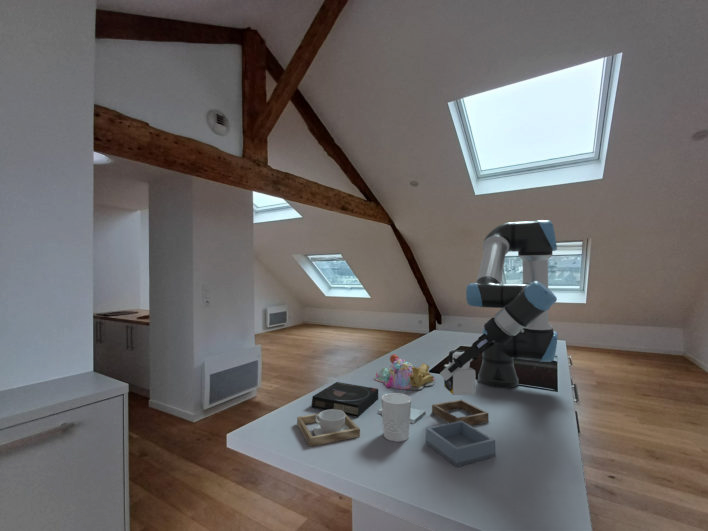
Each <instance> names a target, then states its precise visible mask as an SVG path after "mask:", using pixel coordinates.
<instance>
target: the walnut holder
mask: <svg viewBox="0 0 708 531" xmlns="http://www.w3.org/2000/svg"><path fill="white" fill-rule="evenodd" d="M460 409H461V410H463V411H465V412H467V413H469V414H470V415H465V416H461V417H457V416H455V415H454V414H452V413H450V411H456V410H460ZM431 413H432V414H434V415H435V416H437V417H438V418H440V419H441V420H443V421H445V422H446V423H452V422H457V421H461V420H462V421H464V422H465V423H467V424H469V425H470V426H475V425H479V424H484V423H488V422H489V412H487V411H485V410H483V409H482V408H479V407H477V406H475V405H473V404H471V403H469V402H467V401H465V400H463V399H456V400H452V401H445V402H439V403H433V404H432V405H431Z"/></svg>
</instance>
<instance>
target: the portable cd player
mask: <svg viewBox="0 0 708 531" xmlns="http://www.w3.org/2000/svg"><path fill="white" fill-rule="evenodd" d="M378 400H379V388H374V387H369V386H363V385H358V384H357V385H356V384H351V383H345V382H338V381H336V382H334V383H332V384H331V385H330V386H326V388H324V389H323V390H320V391H319V392H317V393H315V394H314V395H313V396H312V398H311V408H312V409H317V410H320V411H325V410H330V409H336V410H342V411H343V412H344V413H345V414H346V415H347V416H348V417H354V418H359V417H360V416H361V415H363V414H364V413H365V412H366V411H367V410H368V409H370V407H372V406H373V405H374V404H375V403H376V402H377V401H378Z"/></svg>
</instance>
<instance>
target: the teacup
mask: <svg viewBox="0 0 708 531" xmlns="http://www.w3.org/2000/svg"><path fill="white" fill-rule="evenodd" d="M318 414H319V415H317V416H316V417H315V421H316V422H315V423H316V424H317V425H316V426H315V427H314V428H313V433H314V436H317V435H323V434H328V433H333V432H339V431H344V430H349V429H350V428H349V427H348V426H347V425H346V424H345V416H346V414H345V413H344V412H343V411H341V410H336V409H330V410H321V411H320V412H319V413H318ZM317 417H318V418H319V421H318V419H317Z"/></svg>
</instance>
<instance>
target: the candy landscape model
mask: <svg viewBox="0 0 708 531" xmlns="http://www.w3.org/2000/svg"><path fill="white" fill-rule="evenodd" d="M389 361H390V363H391V365H389V367H390V368H389V369H388V368H387V367H382V368H381V369H380V370H379V373H378V372H377V371H376V374H375V381H377V382H379V383H383V384H384V385H385V386H386V387H387V388H391V389H392V388H393V389H395V390H397V389H398V391H399V390H402V391H405V390H409V391H410V390H411V391H418V390H423V388H424V387H428V386H433V385H434V384H435V381H436V377H435V376H433V375H432V374H430V372H429V369H430V366H429V365H428V364H426V363H422V362H421V365H420V366H419V367H418V366H417V367H416V366H414V365H413V364H412V363H411V362H408V361H406V360H405V359H401V358H400V357H399V356H398V354H395V353H393V354H392V355H390V356H389Z"/></svg>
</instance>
